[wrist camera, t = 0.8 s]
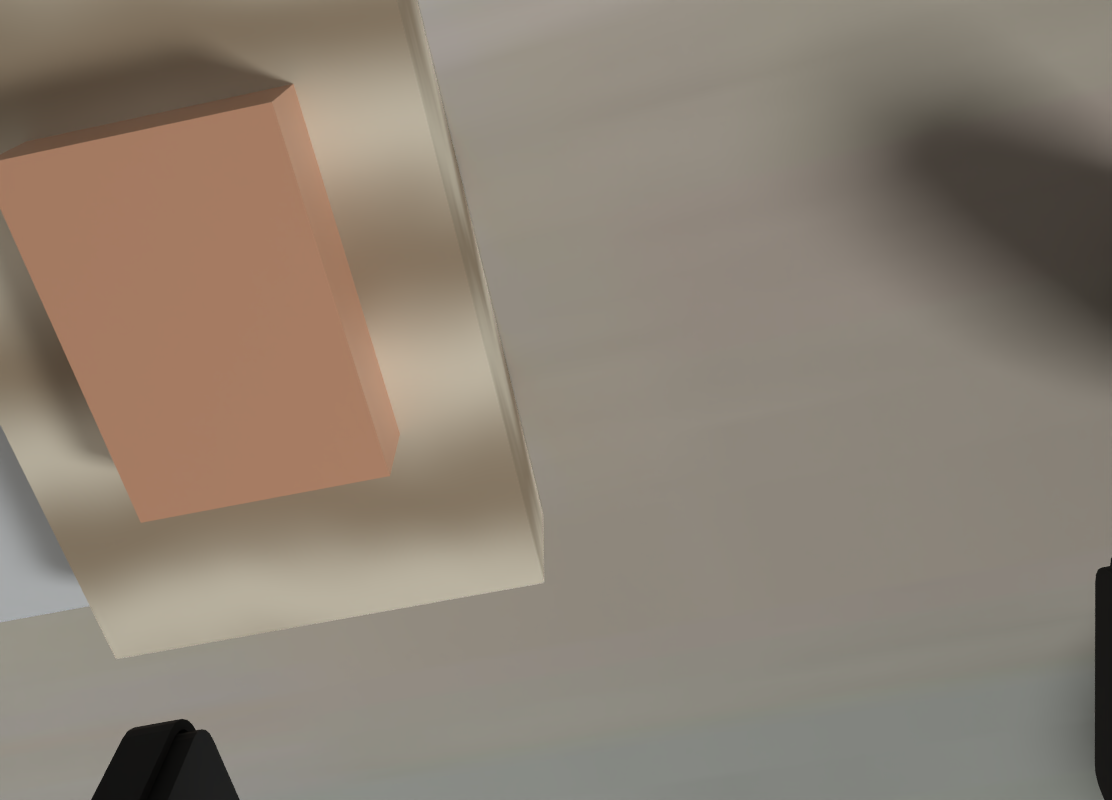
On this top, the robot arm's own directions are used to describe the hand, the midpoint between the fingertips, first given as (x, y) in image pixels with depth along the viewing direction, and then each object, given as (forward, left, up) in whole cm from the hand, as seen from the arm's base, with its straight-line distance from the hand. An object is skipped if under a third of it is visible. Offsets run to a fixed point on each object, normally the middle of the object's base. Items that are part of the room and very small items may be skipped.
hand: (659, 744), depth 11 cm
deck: (0, -10, -23) cm, 25 cm away
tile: (0, -10, -17) cm, 20 cm away
